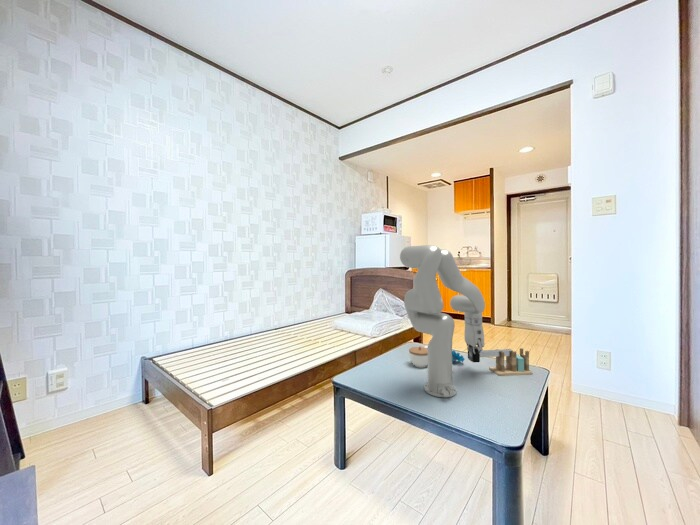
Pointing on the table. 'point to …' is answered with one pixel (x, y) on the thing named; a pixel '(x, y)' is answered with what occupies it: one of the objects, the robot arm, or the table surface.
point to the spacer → (519, 363)
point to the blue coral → (457, 356)
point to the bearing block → (511, 364)
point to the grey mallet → (490, 353)
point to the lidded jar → (419, 356)
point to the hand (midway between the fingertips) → (473, 360)
